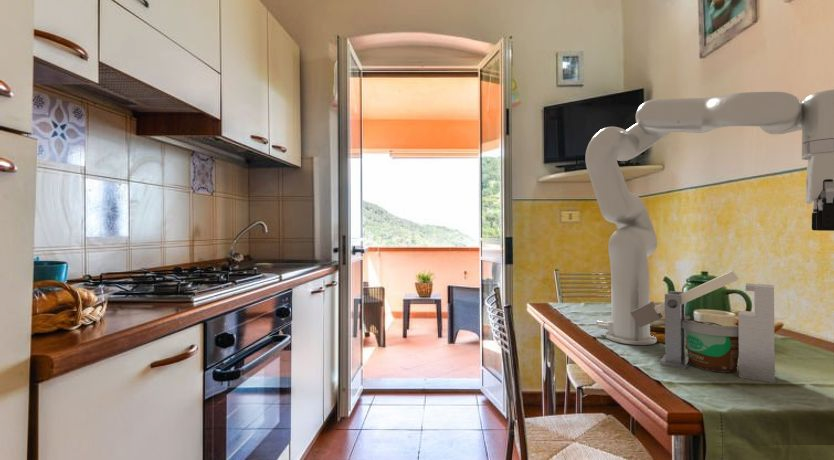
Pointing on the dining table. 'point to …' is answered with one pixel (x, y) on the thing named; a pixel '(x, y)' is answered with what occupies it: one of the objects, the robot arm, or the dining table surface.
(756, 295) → the post
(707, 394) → the dining table surface
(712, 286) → the beige long bar
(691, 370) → the dining table surface
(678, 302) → the hinge post
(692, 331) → the food container
